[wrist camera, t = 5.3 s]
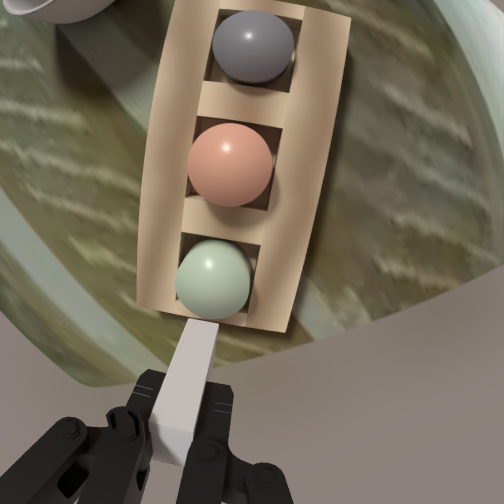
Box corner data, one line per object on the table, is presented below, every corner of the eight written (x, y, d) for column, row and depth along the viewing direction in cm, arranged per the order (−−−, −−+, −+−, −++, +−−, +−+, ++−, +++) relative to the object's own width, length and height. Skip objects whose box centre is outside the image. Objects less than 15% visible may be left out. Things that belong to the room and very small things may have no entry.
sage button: (182, 292, 24) (172, 311, 21) (188, 232, 22) (177, 246, 19) (244, 303, 24) (242, 324, 21) (256, 243, 22) (255, 259, 20)
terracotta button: (192, 191, 21) (182, 199, 18) (203, 121, 19) (194, 118, 17) (263, 203, 21) (264, 213, 19) (276, 132, 20) (279, 131, 17)
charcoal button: (212, 82, 19) (205, 73, 16) (225, 22, 18) (220, 6, 15) (283, 92, 19) (286, 85, 17) (294, 31, 18) (299, 17, 15)
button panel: (148, 288, 26) (136, 305, 23) (186, 8, 18) (177, -7, 15) (283, 312, 27) (285, 332, 24) (340, 30, 18) (351, 18, 15)
